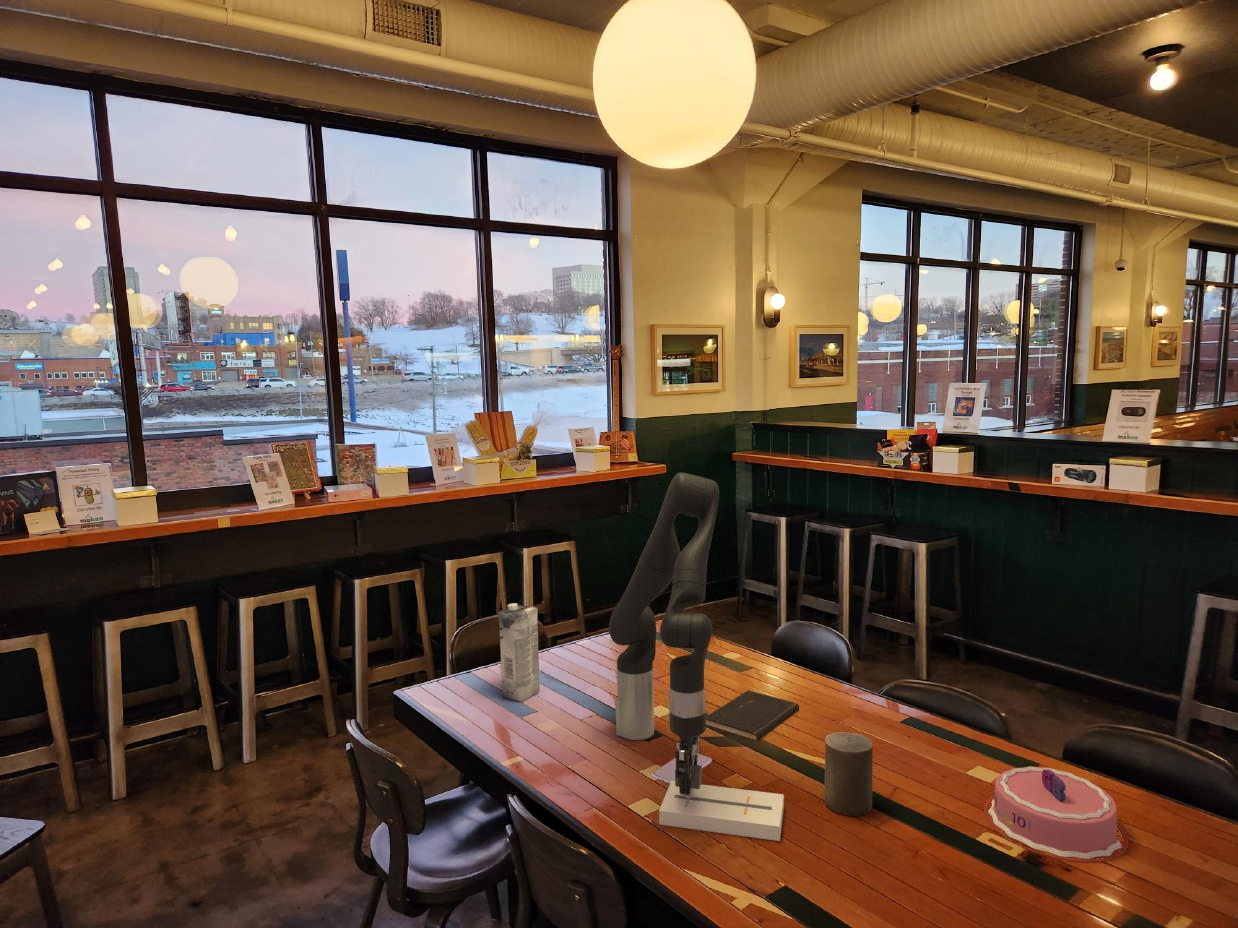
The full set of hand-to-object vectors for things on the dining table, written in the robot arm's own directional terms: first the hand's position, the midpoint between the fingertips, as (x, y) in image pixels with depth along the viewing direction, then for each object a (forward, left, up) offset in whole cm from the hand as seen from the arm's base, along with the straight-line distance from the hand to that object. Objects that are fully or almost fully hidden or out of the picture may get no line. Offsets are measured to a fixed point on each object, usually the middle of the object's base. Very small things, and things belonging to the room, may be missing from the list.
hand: (688, 783), depth 157 cm
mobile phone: (-5, +18, -7) cm, 20 cm away
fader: (0, 0, -3) cm, 3 cm away
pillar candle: (+32, +11, -6) cm, 34 cm away
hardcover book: (+8, +49, -7) cm, 50 cm away
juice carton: (-59, +49, -6) cm, 77 cm away
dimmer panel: (+7, 0, -6) cm, 9 cm away
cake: (+71, +13, -7) cm, 73 cm away
